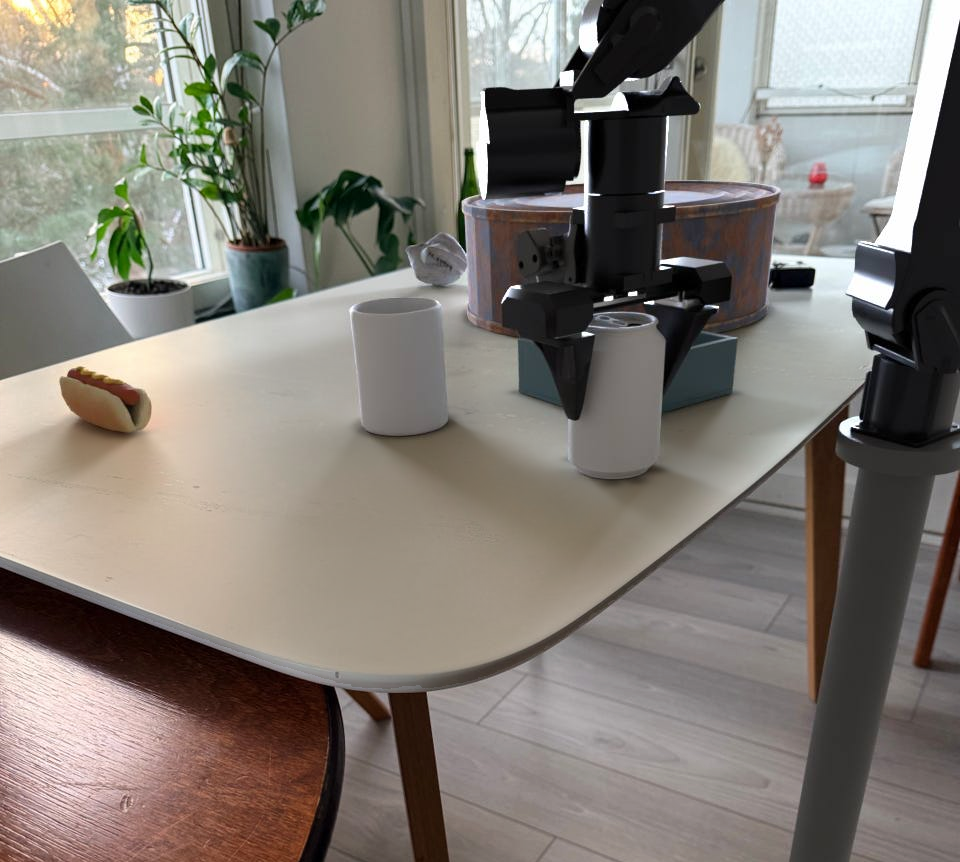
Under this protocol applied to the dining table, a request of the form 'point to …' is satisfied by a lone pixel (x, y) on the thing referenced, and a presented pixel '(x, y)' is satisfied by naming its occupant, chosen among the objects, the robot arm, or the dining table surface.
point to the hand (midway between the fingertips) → (616, 407)
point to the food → (105, 400)
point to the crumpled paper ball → (438, 260)
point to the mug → (400, 365)
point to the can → (620, 398)
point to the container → (695, 234)
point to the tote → (694, 382)
